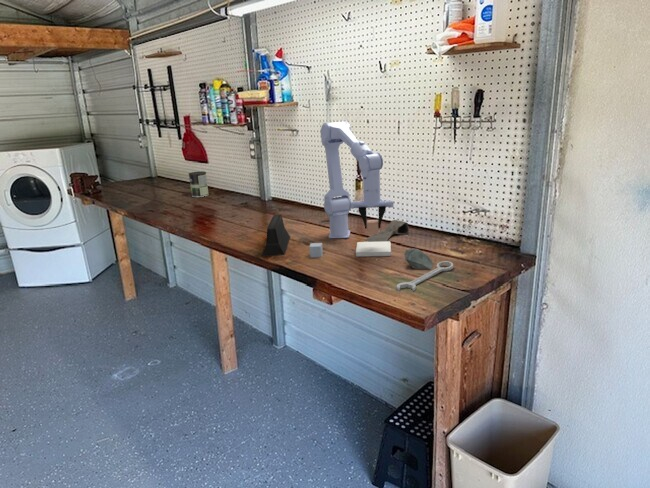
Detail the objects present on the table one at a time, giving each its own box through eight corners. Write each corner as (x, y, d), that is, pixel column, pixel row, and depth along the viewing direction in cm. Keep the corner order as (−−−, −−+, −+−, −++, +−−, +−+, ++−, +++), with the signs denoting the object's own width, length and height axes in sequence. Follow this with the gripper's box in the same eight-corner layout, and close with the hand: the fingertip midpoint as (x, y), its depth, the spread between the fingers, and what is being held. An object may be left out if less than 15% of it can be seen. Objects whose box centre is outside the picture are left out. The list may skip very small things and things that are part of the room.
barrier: (285, 255, 170) (282, 228, 167) (260, 256, 170) (258, 229, 167) (290, 237, 192) (289, 213, 189) (269, 238, 192) (267, 214, 189)
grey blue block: (311, 253, 169) (310, 243, 168) (322, 253, 169) (322, 242, 167) (310, 257, 165) (309, 246, 164) (321, 257, 165) (320, 246, 164)
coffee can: (192, 198, 284) (188, 174, 280) (191, 195, 293) (188, 172, 289) (209, 196, 287) (206, 172, 283) (208, 193, 296) (205, 170, 292)
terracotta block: (367, 230, 168) (367, 220, 167) (378, 230, 168) (378, 219, 166) (366, 234, 164) (366, 222, 163) (378, 233, 164) (378, 222, 163)
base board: (357, 245, 175) (357, 242, 174) (390, 245, 173) (390, 241, 173) (355, 256, 163) (355, 252, 163) (390, 255, 162) (390, 251, 161)
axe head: (379, 241, 173) (359, 236, 180) (381, 253, 175) (361, 248, 182) (413, 220, 185) (393, 217, 192) (414, 232, 187) (395, 228, 194)
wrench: (408, 295, 131) (408, 288, 130) (392, 290, 134) (392, 283, 134) (457, 268, 148) (457, 262, 147) (441, 265, 151) (441, 259, 151)
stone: (437, 262, 156) (408, 251, 159) (440, 252, 154) (411, 241, 157) (429, 276, 148) (399, 264, 151) (432, 265, 146) (402, 254, 149)
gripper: (349, 192, 159) (351, 231, 163) (393, 190, 157) (393, 230, 161) (351, 188, 166) (352, 226, 169) (392, 187, 164) (393, 225, 168)
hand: (372, 227), depth 166 cm, fingers closed on terracotta block, 4 cm apart
